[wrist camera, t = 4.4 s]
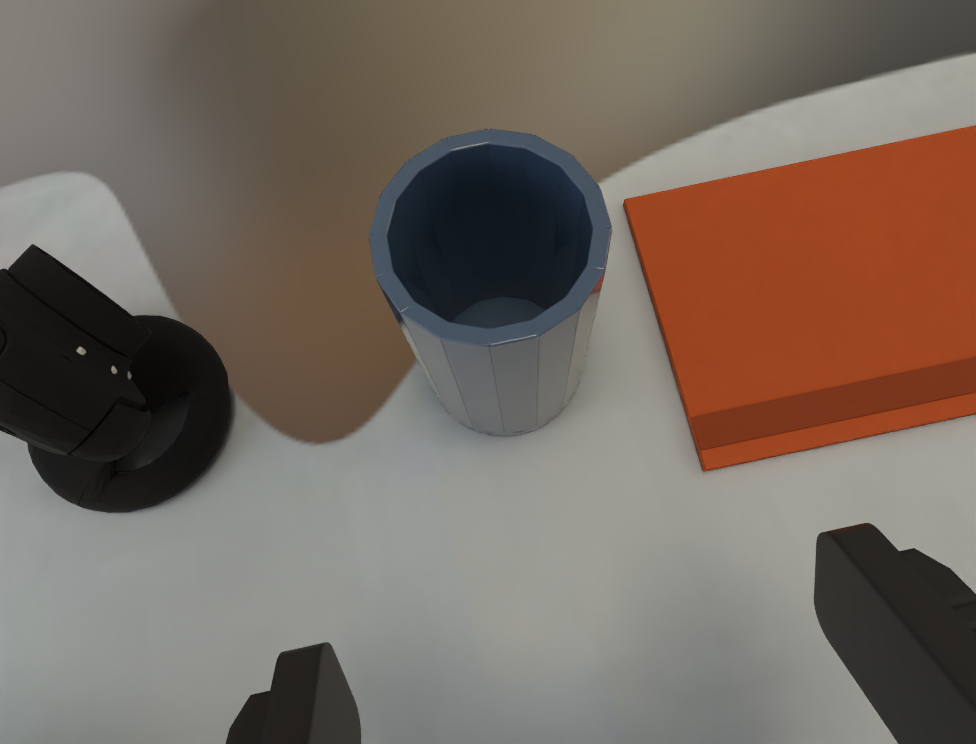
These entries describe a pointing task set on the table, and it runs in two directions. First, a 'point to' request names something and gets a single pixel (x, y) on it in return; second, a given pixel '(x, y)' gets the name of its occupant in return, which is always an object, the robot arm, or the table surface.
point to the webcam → (101, 387)
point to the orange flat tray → (818, 296)
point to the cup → (494, 273)
